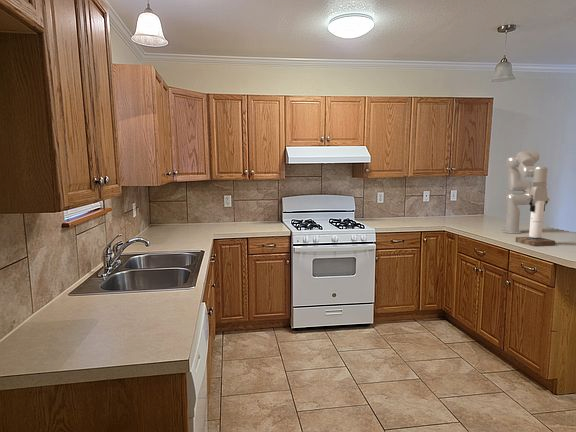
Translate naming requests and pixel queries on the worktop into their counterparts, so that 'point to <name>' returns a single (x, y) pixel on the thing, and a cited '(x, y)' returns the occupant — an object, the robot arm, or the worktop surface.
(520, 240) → the walnut base
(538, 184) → the robot arm
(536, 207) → the cylindrical container
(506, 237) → the worktop surface
